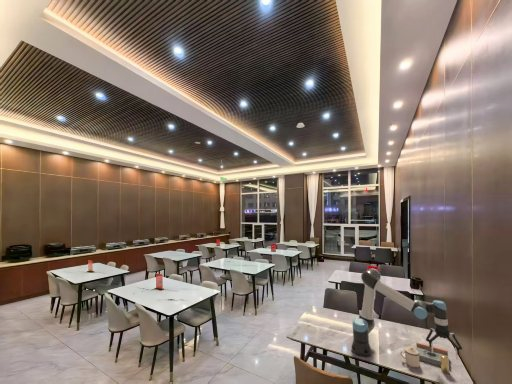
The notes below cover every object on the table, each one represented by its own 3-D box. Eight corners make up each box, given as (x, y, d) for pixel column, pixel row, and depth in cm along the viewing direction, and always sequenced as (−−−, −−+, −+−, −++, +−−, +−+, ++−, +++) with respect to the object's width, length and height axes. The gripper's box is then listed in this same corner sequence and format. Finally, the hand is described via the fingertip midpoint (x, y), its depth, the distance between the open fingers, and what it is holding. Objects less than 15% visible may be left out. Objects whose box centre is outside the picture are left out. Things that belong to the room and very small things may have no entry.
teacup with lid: (420, 362, 174) (418, 346, 175) (420, 369, 167) (419, 352, 168) (401, 357, 181) (400, 341, 182) (400, 363, 173) (399, 346, 175)
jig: (415, 358, 179) (415, 350, 180) (416, 349, 192) (416, 341, 192) (449, 369, 167) (448, 360, 168) (448, 358, 180) (447, 350, 180)
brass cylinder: (441, 372, 164) (440, 357, 165) (441, 368, 167) (439, 354, 168) (449, 374, 161) (448, 359, 162) (449, 371, 165) (448, 356, 166)
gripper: (420, 321, 172) (422, 351, 170) (464, 330, 157) (468, 364, 155) (420, 317, 178) (423, 347, 176) (463, 326, 163) (467, 358, 161)
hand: (444, 355), depth 165 cm, fingers open, 13 cm apart
